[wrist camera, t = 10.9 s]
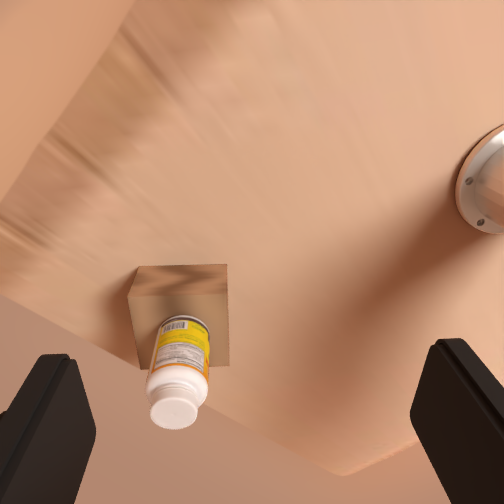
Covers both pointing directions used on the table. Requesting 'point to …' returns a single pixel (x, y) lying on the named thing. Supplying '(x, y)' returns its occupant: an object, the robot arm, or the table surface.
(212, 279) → the walnut block
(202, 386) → the supplement bottle
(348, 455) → the table surface
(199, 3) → the table surface
